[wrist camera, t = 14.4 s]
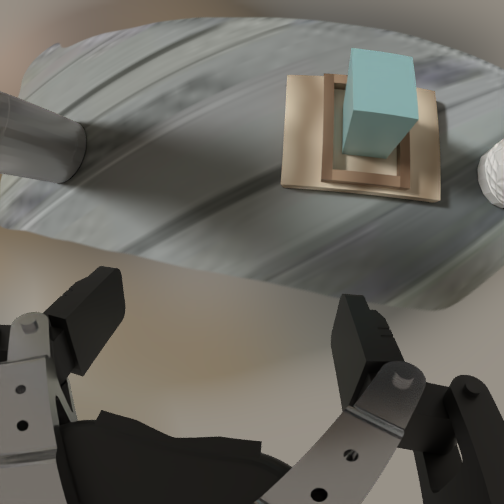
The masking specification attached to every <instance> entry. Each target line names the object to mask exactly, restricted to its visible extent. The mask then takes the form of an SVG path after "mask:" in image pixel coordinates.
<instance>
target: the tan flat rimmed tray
mask: <svg viewBox="0 0 504 504" xmlns="http://www.w3.org/2000/svg"><path fill="white" fill-rule="evenodd" d="M347 77H348V75H338V74H324V76H306V75H287V92H286V110H285V127H284V143H283V159H282V173H281V185H282V187H283V188H297V189H311V190H324V191H335V192H346V193H357V194H367V195H376V196H385V197H394V198H402V199H410V200H418V201H425V202H432V203H434V202H437V201H440V191H441V175H440V143H439V128H438V116H437V106H436V97H435V91H431V90H426V89H421V88H416V91H417V102H418V115H419V120H418V121H417V122H416V123H415V125H414V126H413V127H412V128H411V129H410V131H409V132H408V133H407V134H406V136H405V137H404V138H403V139H402V140H401V142H400V143H399V144H398V145H397V146H396V148H395V149H394V150H393V151H392V153H391V154H390V155H389V156H388V157H387V159H383V158H375V157H366V156H357V155H348V154H342V135H343V104H344V97H345V91H346V84H347Z"/></svg>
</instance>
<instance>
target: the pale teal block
mask: <svg viewBox="0 0 504 504" xmlns="http://www.w3.org/2000/svg"><path fill="white" fill-rule="evenodd" d="M418 120H419V115H418V102H417V91H416V82H415V73H414V65H413V58H412V57H409V56H404V55H398V54H392V53H386V52H379V51H372V50H364V49H356V48H351V56H350V63H349V70H348V77H347V84H346V91H345V97H344V104H343V135H342V154H348V155H357V156H366V157H375V158H383V159H387V157H388V156H389V155H390V154H391V153H392V151H393V150H394V149H395V148H396V146H397V145H398V144H399V143H400V142H401V140H402V139H403V138H404V137H405V136H406V134H407V133H408V132H409V131H410V129H411V128H412V127H413V126H414V125H415V123H416V122H417V121H418Z"/></svg>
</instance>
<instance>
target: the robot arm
mask: <svg viewBox="0 0 504 504" xmlns="http://www.w3.org/2000/svg"><path fill="white" fill-rule="evenodd" d="M85 149H86V134H85V131H84V129H83V127H82V126H81V125H80V124H79V123H77V122H75V121H73V120H70V119H68V118H66V117H63V116H61V115H59V114H56V113H54V112H52V111H49V110H47V109H44V108H42V107H39V106H37V105H34V104H32V103H29V102H27V101H24V100H22V99H19V98H17V97H14V96H12V95H9V94H7V93H3V92H1V91H0V173H1V174H7V175H13V176H19V177H25V178H31V179H36V180H42V181H47V182H53V183H62V182H65V181H67V180H68V179H70V178H71V177H72V176H73V175H74V174H75V172H76V171H77V170H78V168H79V166H80V164H81V162H82V160H83V157H84V154H85ZM124 314H125V299H124V292H123V284H122V275H121V272H120V270H119V269H118V268H111V267H104V266H100V267H99V268H97V269H96V270H95V271H94V272H93V273H91V274H90V275H89V276H88V277H86V278H84V279H82V280H80V281H78V282H76V283H75V284H74V285H73V286H71V287H70V288H69V290H68V291H66V292H65V293H64V294H63V296H61V297H59V298H58V299H57V300H56V301H55V302H54V303H53V304H52V305H51V306H50V307H49V308H48V309H47V310H46V311H45V312H44V313H39V312H31V313H26V314H23V315H21V316H19V317H18V318H16V319H15V320H14V321H13V323H12V325H0V504H361V503H362V502H363V500H364V499H365V498H366V496H367V495H368V493H369V492H370V490H371V489H372V487H373V486H374V484H375V482H376V481H377V480H378V478H379V476H380V475H381V473H382V472H383V470H384V468H385V467H386V465H387V464H388V462H389V460H390V458H391V457H392V455H393V453H394V452H395V450H396V448H397V447H398V448H403V449H409V450H413V452H414V456H415V461H416V466H417V471H418V476H419V481H420V487H421V492H422V498H423V504H504V420H503V418H502V416H501V414H500V412H499V410H498V408H497V406H496V404H495V402H494V400H493V398H492V396H491V394H490V392H489V390H488V388H487V387H486V385H485V384H483V382H482V381H480V380H479V379H477V378H475V377H473V376H469V375H460V376H457V377H455V378H454V379H453V381H452V382H451V384H450V386H449V387H446V386H441V385H436V384H431V383H427V382H426V378H425V376H424V374H423V373H422V371H420V369H418V368H417V367H416V366H414V365H412V364H410V363H407V362H405V361H404V359H403V357H402V355H401V352H400V350H399V348H398V346H397V343H396V341H395V339H394V338H393V334H392V332H391V330H389V326H388V324H387V322H386V319H385V318H384V317H383V316H382V315H381V314H380V313H378V312H377V311H376V310H370V309H369V307H368V304H367V302H366V300H365V298H364V296H363V295H350V294H342V296H341V298H340V301H339V305H338V310H337V314H336V318H335V322H334V326H333V330H332V335H331V348H332V354H333V359H334V364H335V370H336V375H337V381H338V386H339V393H340V398H341V404H342V411H343V412H342V414H341V415H340V416H339V417H338V418H337V419H336V421H335V422H334V423H333V424H332V425H331V427H330V428H329V429H328V430H327V431H326V432H325V433H324V435H323V436H322V437H321V438H320V439H319V440H318V441H317V442H316V443H315V444H314V446H313V447H312V448H311V449H310V450H309V451H308V452H307V453H306V454H305V455H304V456H303V457H302V458H301V459H300V460H299V462H297V463H296V464H295V465H294V466H293V467H291V466H289V465H288V464H286V463H284V462H282V461H280V460H278V459H276V458H274V457H272V456H269V455H266V454H263V453H261V442H260V441H251V440H241V439H233V438H226V437H199V438H174V437H171V436H168V435H166V434H164V433H162V432H160V431H157V430H155V429H153V428H151V427H149V426H147V425H145V424H143V423H141V422H139V421H137V420H134V419H131V418H127V417H123V416H120V415H116V414H112V413H109V412H106V411H103V410H101V412H100V414H99V416H98V418H97V419H96V420H82V421H78V420H77V415H76V411H75V406H74V402H73V397H72V392H71V386H70V382H69V379H68V375H69V374H70V373H74V374H77V375H80V376H84V375H85V373H86V371H87V370H88V369H89V367H90V366H91V364H92V363H93V361H94V360H95V358H96V357H97V356H98V354H99V353H100V351H101V350H102V348H103V347H104V345H105V344H106V343H107V341H108V340H109V338H110V337H111V336H112V334H113V333H114V331H115V330H116V328H117V327H118V326H119V324H120V323H121V322H122V320H123V318H124ZM457 443H458V445H459V448H460V450H461V454H462V459H463V461H462V460H461V457H460V454H459V450H458V447H457Z"/></svg>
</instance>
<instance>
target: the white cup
mask: <svg viewBox="0 0 504 504" xmlns="http://www.w3.org/2000/svg"><path fill="white" fill-rule="evenodd" d="M477 171H478V182H479V185H480V187H481V190H482V192H483V194H484V196H485V197H486V198H487V199H488V200H489V201H490V203H491V204H493V205H496V206H498V207H500V208H504V139H503V140H501V141H500V142H499V143H497V144H496V145H494V146H493V148H491V149H490V150H488V151H487V152H486V153H485V154H484V155H483V156H482V157H481V158H480V161H479V165H478V168H477Z"/></svg>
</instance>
